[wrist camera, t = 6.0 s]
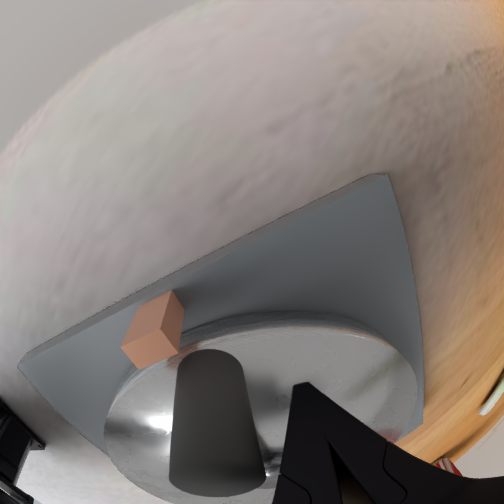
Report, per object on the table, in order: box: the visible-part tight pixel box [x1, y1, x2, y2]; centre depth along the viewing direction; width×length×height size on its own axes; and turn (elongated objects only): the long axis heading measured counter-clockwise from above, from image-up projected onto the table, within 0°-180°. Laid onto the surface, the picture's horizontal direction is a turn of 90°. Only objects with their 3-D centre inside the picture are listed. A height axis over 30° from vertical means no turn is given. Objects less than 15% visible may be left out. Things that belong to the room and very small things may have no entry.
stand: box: [17, 174, 424, 456], centre depth 13 cm, size 22×22×4 cm
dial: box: [104, 310, 417, 504], centre depth 10 cm, size 18×18×6 cm
